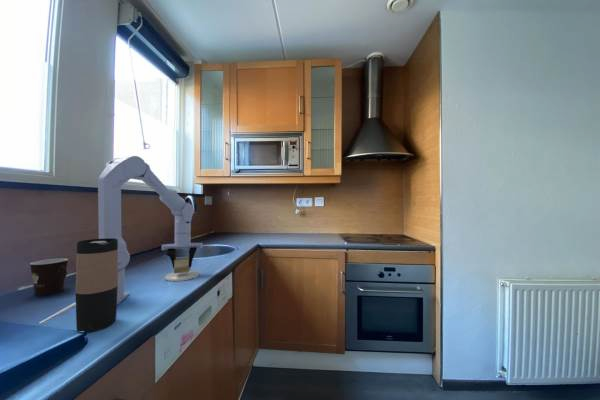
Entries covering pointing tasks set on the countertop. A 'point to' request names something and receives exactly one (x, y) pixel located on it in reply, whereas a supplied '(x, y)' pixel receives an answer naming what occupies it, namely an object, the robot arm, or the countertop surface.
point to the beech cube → (181, 265)
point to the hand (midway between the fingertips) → (182, 267)
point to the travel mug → (96, 284)
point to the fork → (60, 312)
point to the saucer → (181, 276)
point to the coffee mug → (48, 276)
